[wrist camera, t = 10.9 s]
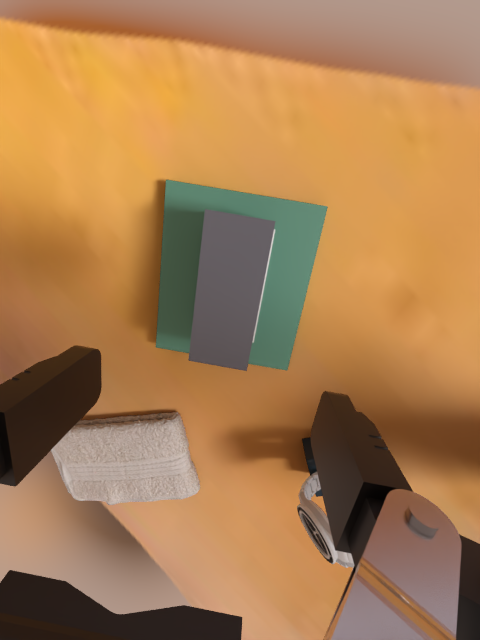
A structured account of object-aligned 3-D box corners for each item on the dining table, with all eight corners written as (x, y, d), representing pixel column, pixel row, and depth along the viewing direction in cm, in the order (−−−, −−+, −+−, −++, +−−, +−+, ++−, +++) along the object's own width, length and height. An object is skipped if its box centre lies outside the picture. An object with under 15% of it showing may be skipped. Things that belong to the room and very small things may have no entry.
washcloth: (49, 418, 35) (30, 436, 32) (183, 405, 32) (175, 422, 30) (81, 487, 38) (66, 508, 35) (203, 479, 36) (198, 501, 33)
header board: (324, 207, 24) (339, 202, 19) (286, 364, 29) (291, 389, 25) (170, 182, 24) (150, 171, 20) (159, 342, 29) (142, 363, 25)
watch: (285, 441, 32) (298, 541, 22) (353, 429, 31) (400, 529, 21) (296, 476, 34) (311, 584, 24) (361, 466, 33) (407, 575, 22)
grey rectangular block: (215, 212, 23) (203, 209, 19) (272, 222, 23) (275, 221, 19) (200, 337, 27) (187, 360, 23) (248, 346, 27) (246, 370, 23)
